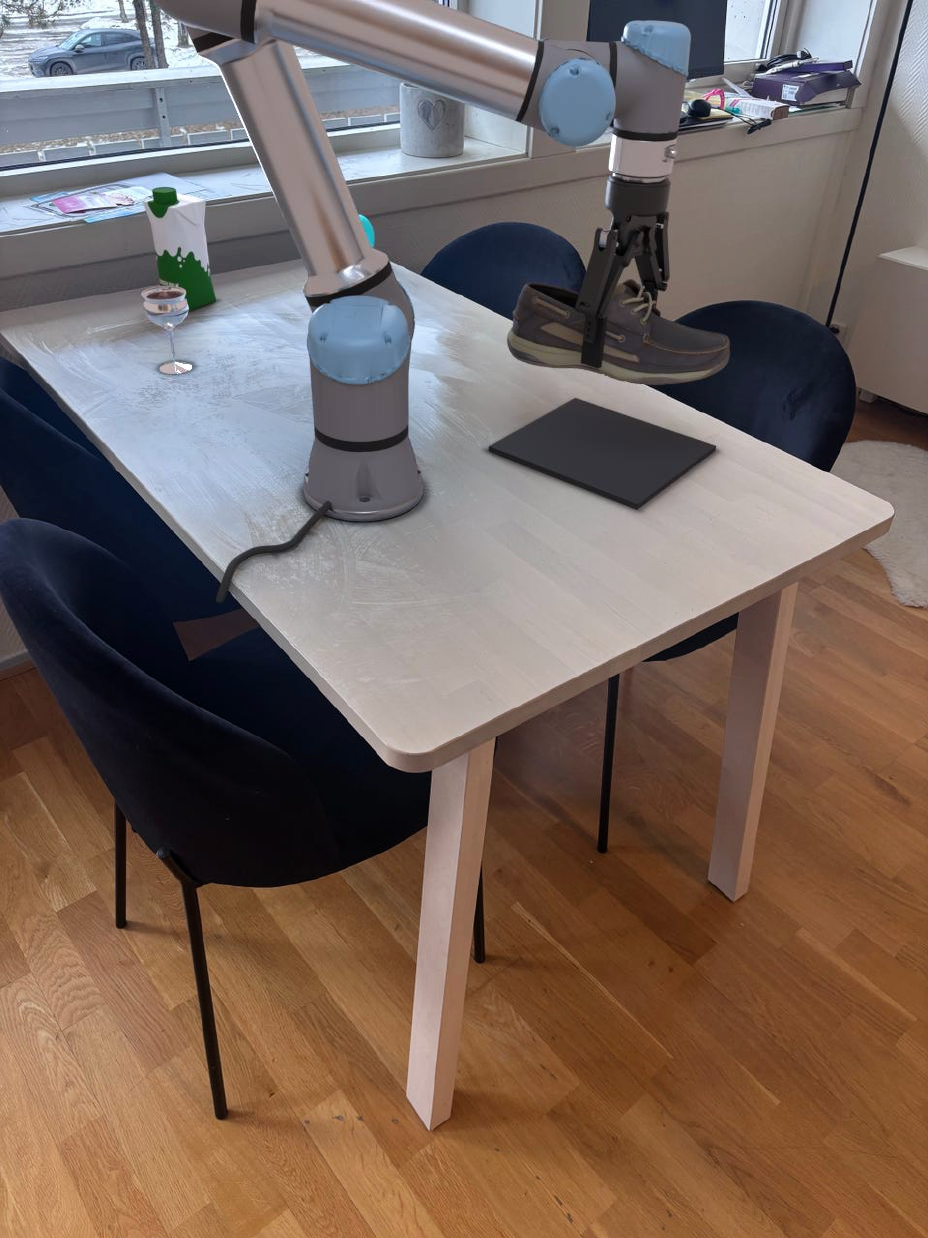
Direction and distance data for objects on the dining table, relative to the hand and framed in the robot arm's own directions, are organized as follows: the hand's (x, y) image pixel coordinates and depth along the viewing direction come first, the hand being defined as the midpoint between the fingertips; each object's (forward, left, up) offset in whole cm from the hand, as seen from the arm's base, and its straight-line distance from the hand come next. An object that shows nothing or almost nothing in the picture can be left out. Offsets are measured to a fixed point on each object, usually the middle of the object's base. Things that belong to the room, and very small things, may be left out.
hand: (616, 351), depth 126 cm
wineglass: (-22, +67, -15) cm, 72 cm away
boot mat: (0, 0, -15) cm, 15 cm away
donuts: (+37, +87, -15) cm, 96 cm away
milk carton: (-1, +90, -15) cm, 91 cm away
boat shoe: (-1, 0, -2) cm, 2 cm away
